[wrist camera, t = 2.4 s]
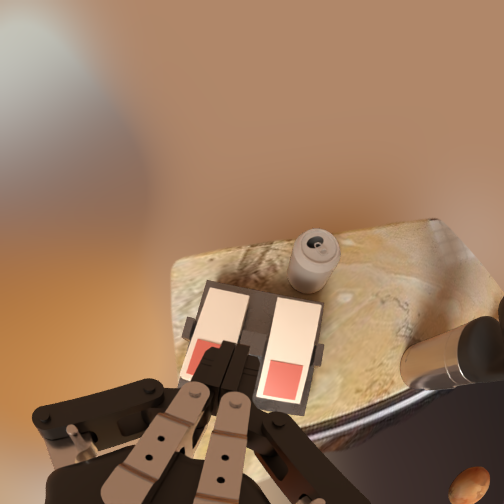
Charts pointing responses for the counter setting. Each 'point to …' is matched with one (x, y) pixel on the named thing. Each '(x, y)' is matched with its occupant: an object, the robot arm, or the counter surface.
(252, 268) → the counter surface
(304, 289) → the can
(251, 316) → the switch box
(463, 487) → the onion
